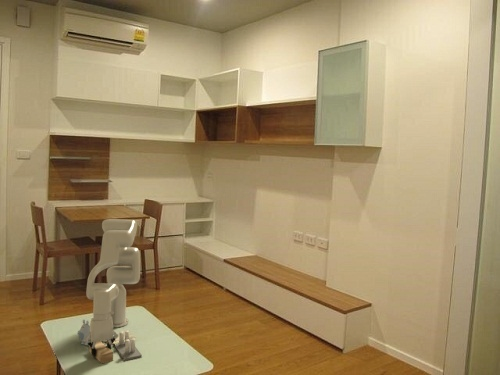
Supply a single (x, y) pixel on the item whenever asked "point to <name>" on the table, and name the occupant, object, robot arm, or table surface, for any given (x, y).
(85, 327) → the toy figure
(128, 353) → the peg stand
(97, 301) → the robot arm
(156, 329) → the table surface
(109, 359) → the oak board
